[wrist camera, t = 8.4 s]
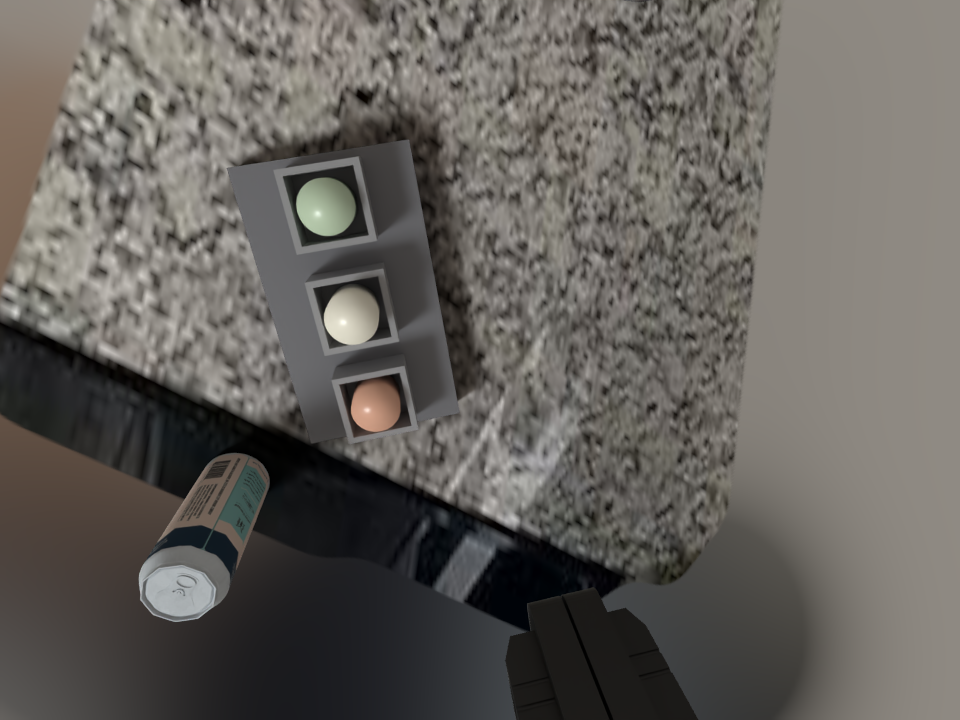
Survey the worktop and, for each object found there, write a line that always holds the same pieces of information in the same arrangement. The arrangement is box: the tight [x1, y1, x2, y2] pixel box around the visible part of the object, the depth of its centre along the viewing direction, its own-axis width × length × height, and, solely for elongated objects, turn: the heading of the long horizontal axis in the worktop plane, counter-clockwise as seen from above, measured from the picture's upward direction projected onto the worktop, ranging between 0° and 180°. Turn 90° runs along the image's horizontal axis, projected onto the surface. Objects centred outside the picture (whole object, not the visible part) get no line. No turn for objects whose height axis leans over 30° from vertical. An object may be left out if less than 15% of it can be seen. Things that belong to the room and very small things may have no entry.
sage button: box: [296, 177, 358, 236], centre depth 31 cm, size 3×3×3 cm
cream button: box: [324, 284, 380, 345], centre depth 33 cm, size 3×3×3 cm
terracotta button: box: [351, 375, 400, 432], centre depth 36 cm, size 3×3×3 cm
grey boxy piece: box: [227, 139, 460, 444], centre depth 35 cm, size 11×19×4 cm, turn 9°
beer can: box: [139, 453, 270, 622], centre depth 34 cm, size 5×5×12 cm
